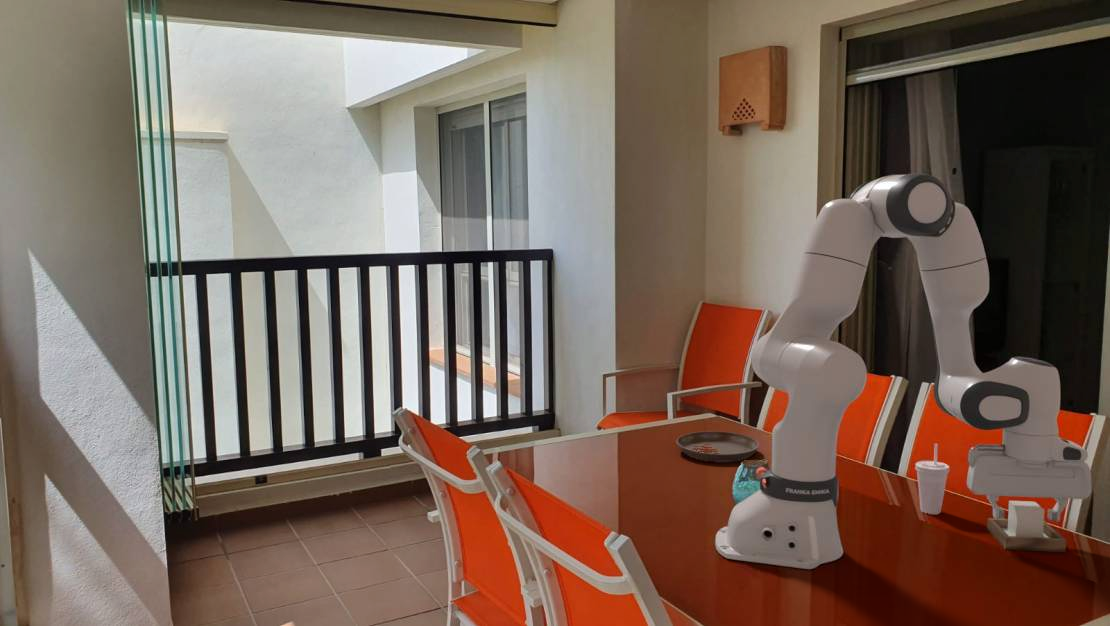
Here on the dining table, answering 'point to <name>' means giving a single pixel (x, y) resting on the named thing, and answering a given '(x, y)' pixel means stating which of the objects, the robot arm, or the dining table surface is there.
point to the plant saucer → (718, 446)
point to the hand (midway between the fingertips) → (1025, 518)
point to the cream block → (1025, 519)
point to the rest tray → (1026, 538)
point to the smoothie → (931, 484)
